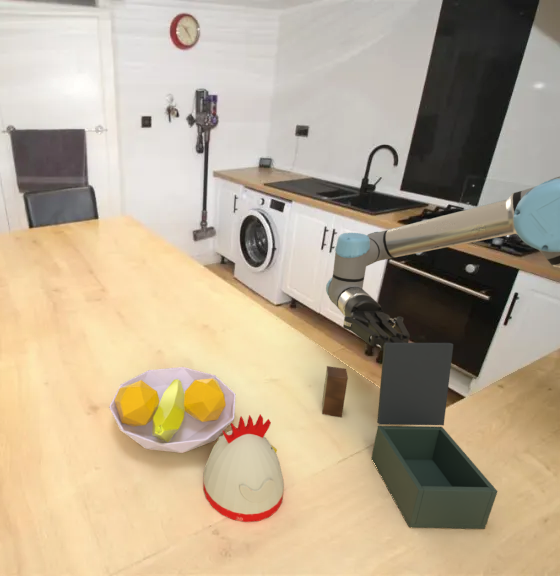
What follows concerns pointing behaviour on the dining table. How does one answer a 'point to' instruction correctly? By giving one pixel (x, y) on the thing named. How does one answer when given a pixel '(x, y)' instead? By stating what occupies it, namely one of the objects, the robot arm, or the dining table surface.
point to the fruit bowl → (173, 409)
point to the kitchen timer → (244, 473)
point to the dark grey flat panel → (414, 383)
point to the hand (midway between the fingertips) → (408, 359)
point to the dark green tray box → (432, 478)
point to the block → (334, 391)
